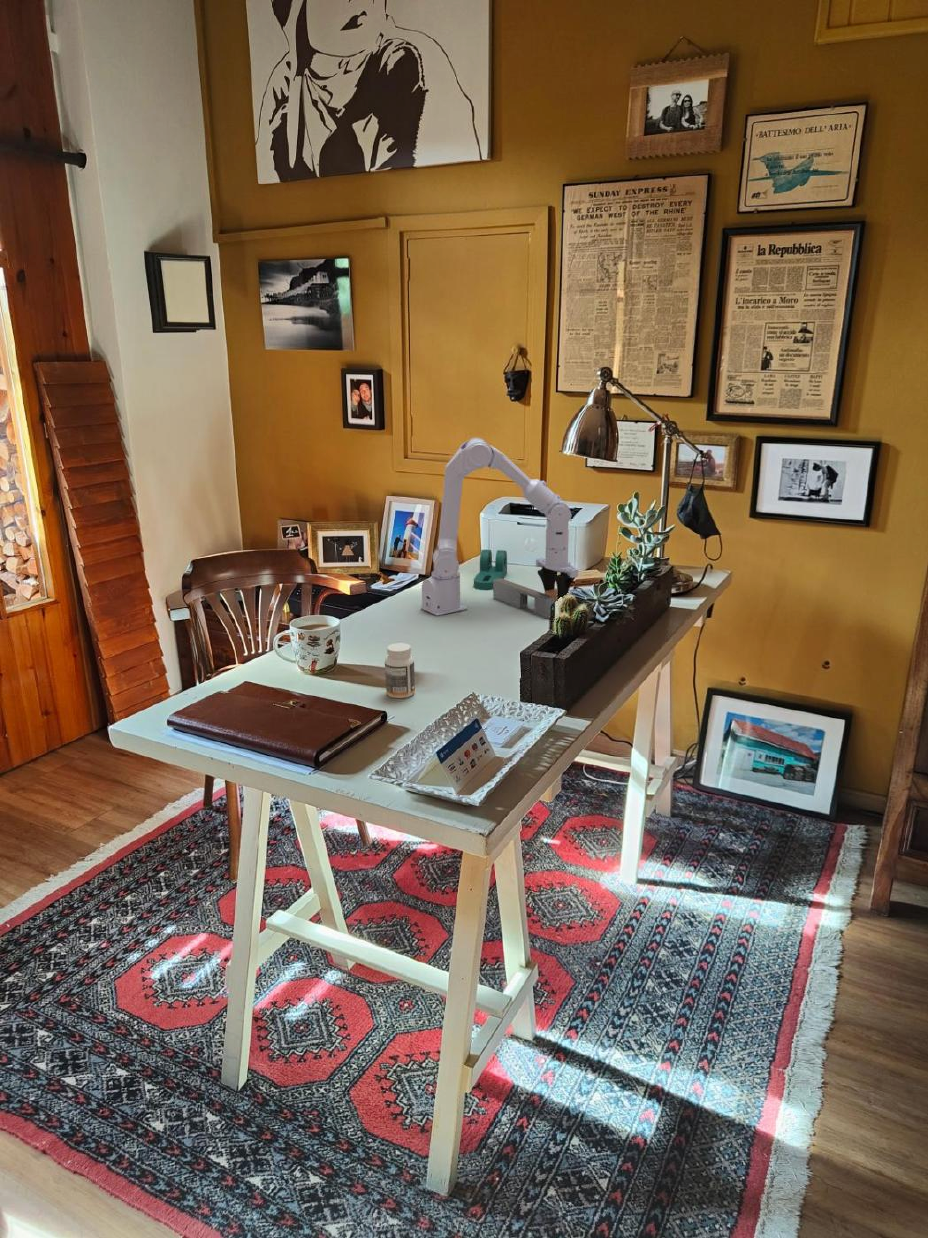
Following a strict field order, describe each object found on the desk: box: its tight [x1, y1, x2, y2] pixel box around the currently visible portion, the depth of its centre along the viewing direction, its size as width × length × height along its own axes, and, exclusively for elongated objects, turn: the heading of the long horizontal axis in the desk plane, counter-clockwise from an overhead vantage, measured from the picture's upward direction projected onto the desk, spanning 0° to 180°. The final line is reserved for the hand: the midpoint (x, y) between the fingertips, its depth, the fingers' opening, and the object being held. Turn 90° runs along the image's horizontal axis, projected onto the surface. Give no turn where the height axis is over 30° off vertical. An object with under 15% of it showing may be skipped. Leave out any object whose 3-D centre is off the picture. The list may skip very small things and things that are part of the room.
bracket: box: [473, 549, 508, 591], centre depth 252 cm, size 18×7×8 cm, turn 167°
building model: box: [492, 578, 554, 620], centre depth 228 cm, size 2×22×5 cm, turn 35°
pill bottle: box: [384, 642, 416, 699], centre depth 175 cm, size 6×6×10 cm
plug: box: [544, 587, 570, 603], centre depth 229 cm, size 8×4×3 cm, turn 125°
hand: (555, 598), depth 230 cm, fingers closed on plug, 4 cm apart
